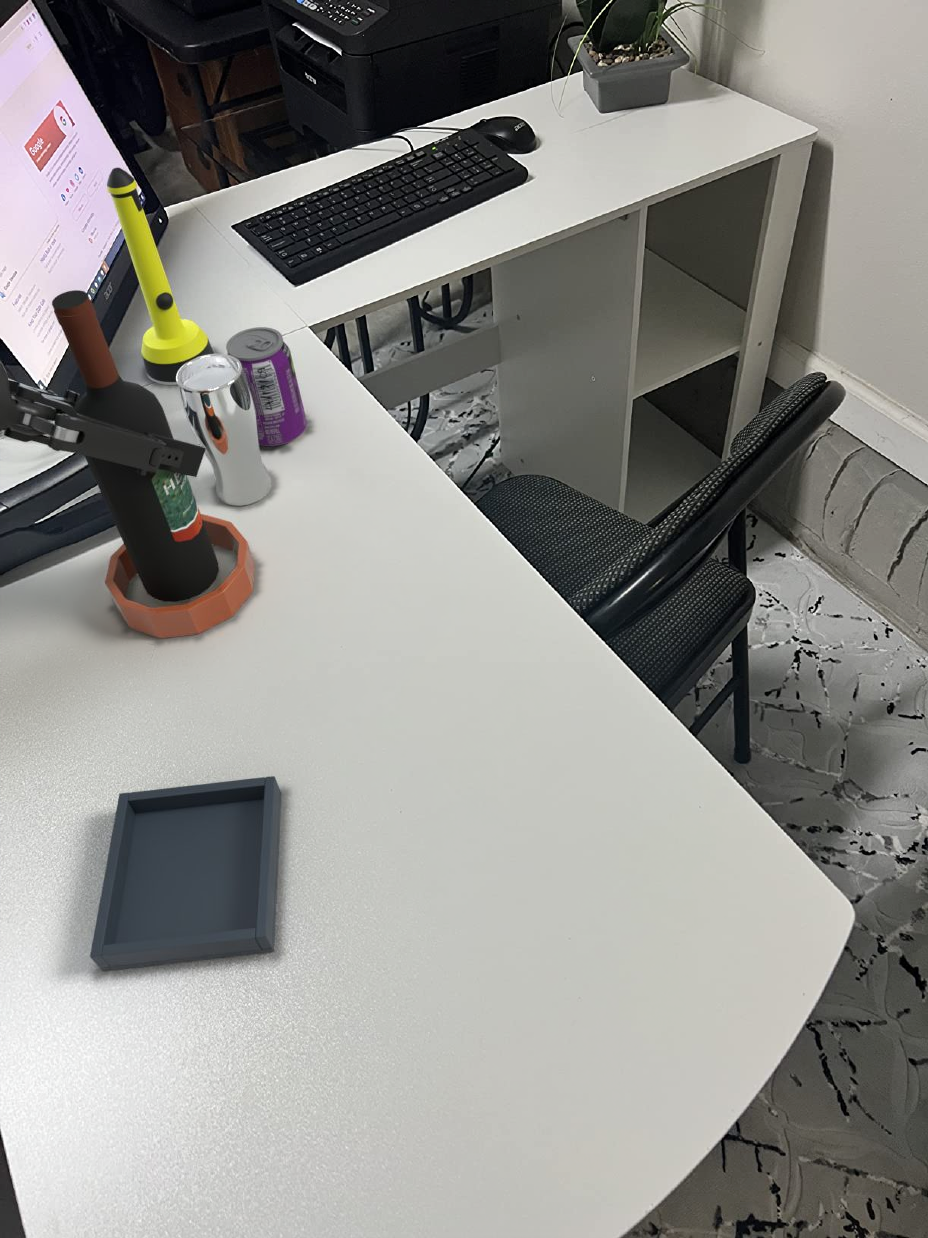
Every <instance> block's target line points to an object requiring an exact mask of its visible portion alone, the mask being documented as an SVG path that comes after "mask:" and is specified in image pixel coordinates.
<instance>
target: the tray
mask: <svg viewBox="0 0 928 1238" xmlns="http://www.w3.org/2000/svg"><path fill="white" fill-rule="evenodd" d="M281 807H282V791H281V789H280V787H279V784H278V781H277V778H276V776H274V775H271V776H266V777H265V776H263V777H254V778H245V779H244V778H243V779H237V780H226V781H219V782H212V783H211V782H209V783H201V784H192V785H184V786H175V787H174V786H173V787H166V788H165V787H164V788H158V789H157V788H156V789H149V790H139V791H132V792H130V791H129V792H121V793H118V799H117V805H116V810H115V816H114V821H113V827H112V832H111V838H110V842H109V843H110V844H109V850H108V855H107V860H106V866H105V871H104V876H103V882H102V888H101V892H100V893H101V894H100V899H99V905H98V911H97V916H96V922H95V926H94V932H93V938H92V944H91V949H90V955H89V957H90V959H91V960H92V961H93V962H94V963H95V965H96V966H97V967H98V968H99V970H101V971H102V972H108V971H109V972H110V971H117V970H126V969H135V968H145V967H152V966H161V965H169V964H180V963H189V962H196V961H204V960H213V959H222V958H229V957H238V956H247V955H257V954H265V953H273V952H274V951H275V938H276V937H275V936H276V916H277V896H278V877H279V876H278V875H279V855H280V854H279V853H280V835H281V834H280V831H281V813H282V812H281V811H282V810H281V809H282V808H281Z"/></svg>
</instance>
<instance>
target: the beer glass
mask: <svg viewBox="0 0 928 1238" xmlns="http://www.w3.org/2000/svg"><path fill="white" fill-rule="evenodd" d="M176 381H177V383H178V385H177V387H178V390H179V395H180V399H181V404H182V406H183V407H182V408H183V410H184V414H185V416H186V419H187V422H188V424H189V427H190V429H191V431H192V433H193V435H194V437H195V440H196V441H197V442H198V444H199V446H201V447H203V448H206V450H205V453H204V455H205V457H206V458H207V460H208V461H209V463H210V465H211V467H212V468H211V469H212V470H213V474H214V479H215V489H216V494H217V496H218V497H217V498H219V500H220V501H222V502H223V503H224V504H225V505H231V506H234V507H235V506H237V507H241V506H243V507H244V506H249V505H252V504H255V503H257V502H259V501H261V500H262V499H264V498H265V497H266V496H267V495H268V494H269V493H270V491H271V489H272V486H273V481H272V477H271V474H270V473H269V471H268V469H267V467H266V465H265V464H264V462H263V458H262V455H261V449H260V445H259V435H258V422H257V414H256V408H255V404H254V400H253V396H252V393H251V390H250V387H249V384H248V382H247V379H246V376H245V374H244V371H243V368H242V364H241V362H240V361H239V360H238V359H237V358H235V357H233V356H231V355H228V353H214V354H209V355H204V356H200V357H197V358H195V359H193V360H191V361H189V362H187V363H186V364H184V365H183V366H182V367H181V368H180V369H179V371H178V373H177V376H176Z"/></svg>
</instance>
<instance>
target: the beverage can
mask: <svg viewBox="0 0 928 1238" xmlns="http://www.w3.org/2000/svg"><path fill="white" fill-rule="evenodd" d="M225 346H226V347H225V348H226V352H227V355H231V356H233V357H235V358H237V359H238V360H239V361H240V362H241V364H242V368H243V371H244V374H245V376H246V379H247V382H248V384H249V387H250V390H251V393H252V396H253V400H254V404H255V408H256V414H257V422H258V435H259V446H266V447H275V446H281V445H286V444H288V443H291V442H293V441H294V440H296V439H298V438H299V437H300V436H301V435H302V434H304V432H305V430H306V428H307V425H308V421H307V416H306V412H305V408H304V404H303V400H302V395H301V390H300V387H299V383H298V378H297V374H296V370H295V366H294V362H293V361H294V360H293V357H292V353H291V350H290V347H289V346H288V345H287V343H286V342H285V341H284V338H283V334H282V333H281V331H279V330H278V329H274V328H272V327H266V326H256V327H250V328H247V329H244V330H242V331H239V332H237V333H235V334H234V335H232V336H231V337H230V338H229V339H228V340H227V342H226V344H225Z"/></svg>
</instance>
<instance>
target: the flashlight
mask: <svg viewBox="0 0 928 1238" xmlns="http://www.w3.org/2000/svg"><path fill="white" fill-rule="evenodd" d="M137 187H138V183H137V182H136V180H135V178H134V177H133V176H132V175H131V174H130V173H129V172H127V171H126V170H124V169H123V168H121V167H114V168H112V169H111V171H110V172H109V175H108V178H107V181H106V188H107V192H108V193H109V194H110V196H111V198H112V202H113V205H114V208H115V212H116V215H117V217H118V221H119V223H120V228H121V230H122V233H123V237H124V239H125V243H126V245H127V248H128V253H129V255H130V258H131V261H132V264H133V268H134V270H135V274H136V276H137V281H138V283H139V287H140V289H141V293H142V295H143V299H144V302H145V304H146V308H147V310H148V315H149V317H150V320H151V324H152V326H151V327H150V328H149V329H147V330H146V331H145V333H143V336H142V344H141V349H140V353H141V356H142V360H143V361H142V362H143V364H144V368H145V372H146V376H147V377H148V378H149V379H150V381H152V382H153V383H156V384H159V385H166V386H178V383H177V381H176V376H177V373H178V371H179V369H180V368H181V367H182V366H183V365H184V364H186V363H187V362H189V361H191V360H193V359H195V358H197V357H200V356H204V355H209V354H215V352H214V350H213V348H212V345H211V342H210V340H209V338H208V335H207V333H205V332H204V330H202V328H201V327H200V326H199V325H198V324H197V323H196V322H194V321H192V320H191V319H190V320H189V319H185V318H184V319H183V318H181V316H180V312H179V310H178V307H177V304H176V301H175V298H174V295H173V291H172V289H171V286H170V283H169V280H168V277H167V274H166V271H165V269H164V266H163V262H162V260H161V257H160V254H159V251H158V249H157V245H156V243H155V240H154V237H153V234H152V231H151V228H150V225H149V223H148V219H147V216H146V214H145V210H144V208H143V204H142V202H141V198H140V195H139V193H138V190H137Z"/></svg>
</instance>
